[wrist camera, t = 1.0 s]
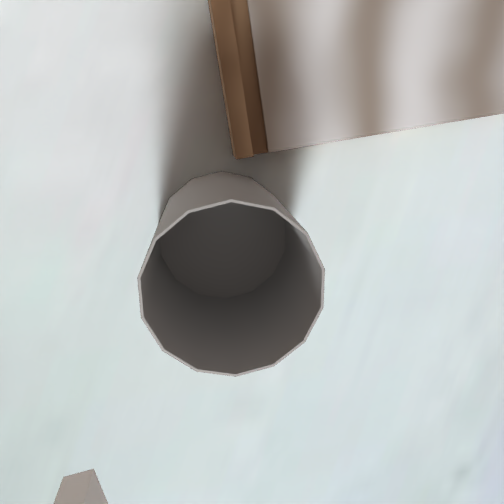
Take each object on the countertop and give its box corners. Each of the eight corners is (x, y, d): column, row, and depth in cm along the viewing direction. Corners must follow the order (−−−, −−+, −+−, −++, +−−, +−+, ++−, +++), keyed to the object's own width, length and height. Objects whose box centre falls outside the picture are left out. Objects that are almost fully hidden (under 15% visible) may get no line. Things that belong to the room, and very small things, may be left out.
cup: (305, 261, 31) (352, 327, 21) (198, 316, 31) (196, 404, 22) (250, 148, 28) (275, 164, 19) (133, 208, 29) (100, 255, 19)
